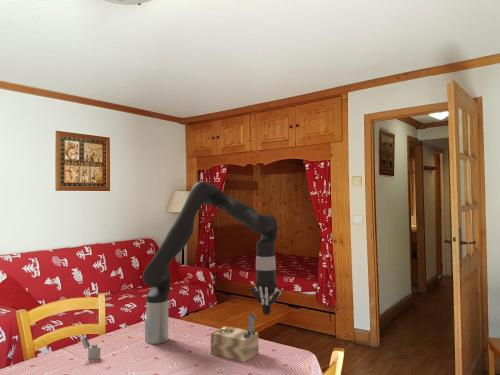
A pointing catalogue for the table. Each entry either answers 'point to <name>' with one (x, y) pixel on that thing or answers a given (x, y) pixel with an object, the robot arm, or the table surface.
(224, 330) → the pin
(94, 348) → the lighter
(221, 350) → the block
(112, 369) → the table surface
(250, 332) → the grey handle
